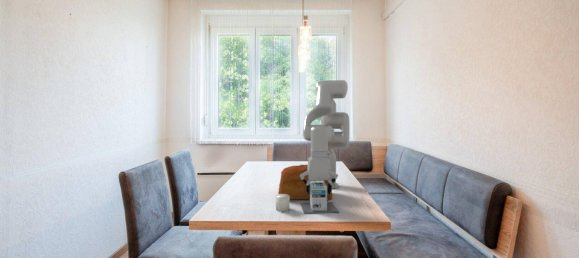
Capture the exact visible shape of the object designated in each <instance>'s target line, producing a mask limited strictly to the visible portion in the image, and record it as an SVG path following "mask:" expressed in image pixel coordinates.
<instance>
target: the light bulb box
mask: <svg viewBox="0 0 579 258" xmlns="http://www.w3.org/2000/svg"><path fill="white" fill-rule="evenodd" d="M327 202H328V200H327V185H326V184H325V182H324V181H311V182H310V200H309V203H310V205H311V209H312V211H327Z"/></svg>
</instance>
